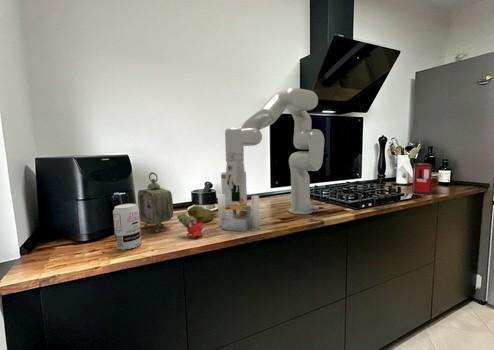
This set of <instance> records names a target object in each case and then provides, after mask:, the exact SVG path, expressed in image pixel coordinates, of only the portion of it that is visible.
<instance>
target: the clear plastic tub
mask: <svg viewBox="0 0 494 350" xmlns="http://www.w3.org/2000/svg"><path fill="white" fill-rule="evenodd" d="M233 206H236V205H233ZM250 207H251V206H250V205H247V210H234V209H232V211H231V212H229V213H227V214H226V216H224V217H223V218H222V226H221V228H222V230H226V231H235V232H245V233H246V232H248V231H249V230H250V229H251V228H252V208H251V210H250Z"/></svg>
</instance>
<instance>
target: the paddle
mask: <svg viewBox="0 0 494 350" xmlns="http://www.w3.org/2000/svg"><path fill="white" fill-rule="evenodd" d="M247 206H248V205H247ZM247 206H231V208H230V210H233V209H234V210H247ZM251 209H252V206H250V210H251Z"/></svg>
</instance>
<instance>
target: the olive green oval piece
mask: <svg viewBox="0 0 494 350" xmlns="http://www.w3.org/2000/svg"><path fill="white" fill-rule="evenodd" d="M187 214H188V215H187V216H189V215H190V216H194V218H195V219H197V222H198V223H199V222H200V223H201V222H202V221H203V223H207V222H209V221H211V220H213V218H214V216H215V214H214V211H213V210H211V209H207V208H204V207H202V206H200V205H199V206H197V205H193V206H191V207H190V208H188V210H187Z"/></svg>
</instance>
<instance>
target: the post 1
mask: <svg viewBox="0 0 494 350" xmlns="http://www.w3.org/2000/svg"><path fill="white" fill-rule="evenodd" d="M217 211H218V214H217V216H218V226H219V227H222V218H223V217H224V216H226V215H227V214H226V208H225V194H222V193H219V194H217Z"/></svg>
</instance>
